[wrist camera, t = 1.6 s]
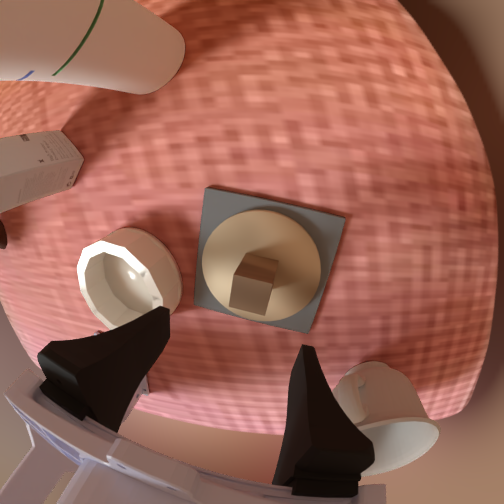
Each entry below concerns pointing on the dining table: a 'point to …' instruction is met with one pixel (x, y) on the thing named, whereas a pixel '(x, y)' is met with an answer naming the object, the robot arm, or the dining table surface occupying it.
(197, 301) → the mat
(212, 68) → the dining table surface
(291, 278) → the lid
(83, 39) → the cylindrical container
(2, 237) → the ice cream bowl
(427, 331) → the dining table surface
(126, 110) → the dining table surface
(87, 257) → the bowl
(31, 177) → the skincare box
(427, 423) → the teacup
